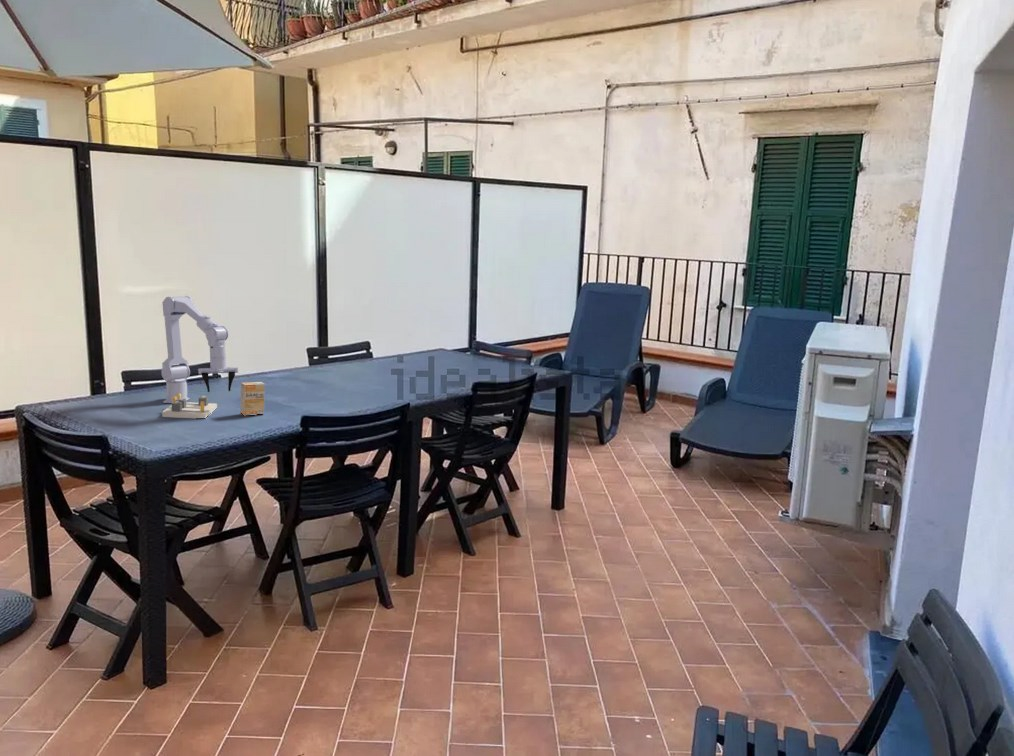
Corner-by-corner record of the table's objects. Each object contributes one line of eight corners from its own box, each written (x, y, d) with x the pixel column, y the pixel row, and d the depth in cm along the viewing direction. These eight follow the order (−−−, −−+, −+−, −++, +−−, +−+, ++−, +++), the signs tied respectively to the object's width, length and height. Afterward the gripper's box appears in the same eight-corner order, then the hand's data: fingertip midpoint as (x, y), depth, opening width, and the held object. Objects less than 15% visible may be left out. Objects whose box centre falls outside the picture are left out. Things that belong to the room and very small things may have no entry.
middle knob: (178, 405, 299) (178, 397, 298) (186, 406, 299) (186, 397, 298) (176, 407, 296) (176, 399, 295) (184, 408, 296) (184, 399, 295)
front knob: (174, 409, 293) (174, 400, 293) (182, 409, 294) (182, 401, 293) (171, 411, 290) (171, 402, 290) (179, 411, 291) (179, 402, 290)
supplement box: (243, 416, 298) (244, 384, 296) (240, 414, 302) (240, 382, 300) (264, 415, 303) (265, 383, 301) (260, 412, 307) (261, 381, 304)
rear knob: (200, 403, 305) (200, 395, 304) (208, 403, 305) (208, 395, 305) (198, 405, 302) (198, 397, 301) (206, 405, 302) (206, 397, 302)
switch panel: (176, 406, 305) (176, 392, 304) (217, 408, 307) (217, 394, 306) (162, 416, 289) (162, 401, 288) (205, 418, 291) (205, 403, 290)
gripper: (197, 359, 290) (199, 393, 292) (237, 358, 295) (238, 392, 297) (198, 356, 296) (199, 390, 298) (237, 355, 302) (238, 389, 304)
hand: (219, 391), depth 298 cm, fingers open, 7 cm apart
